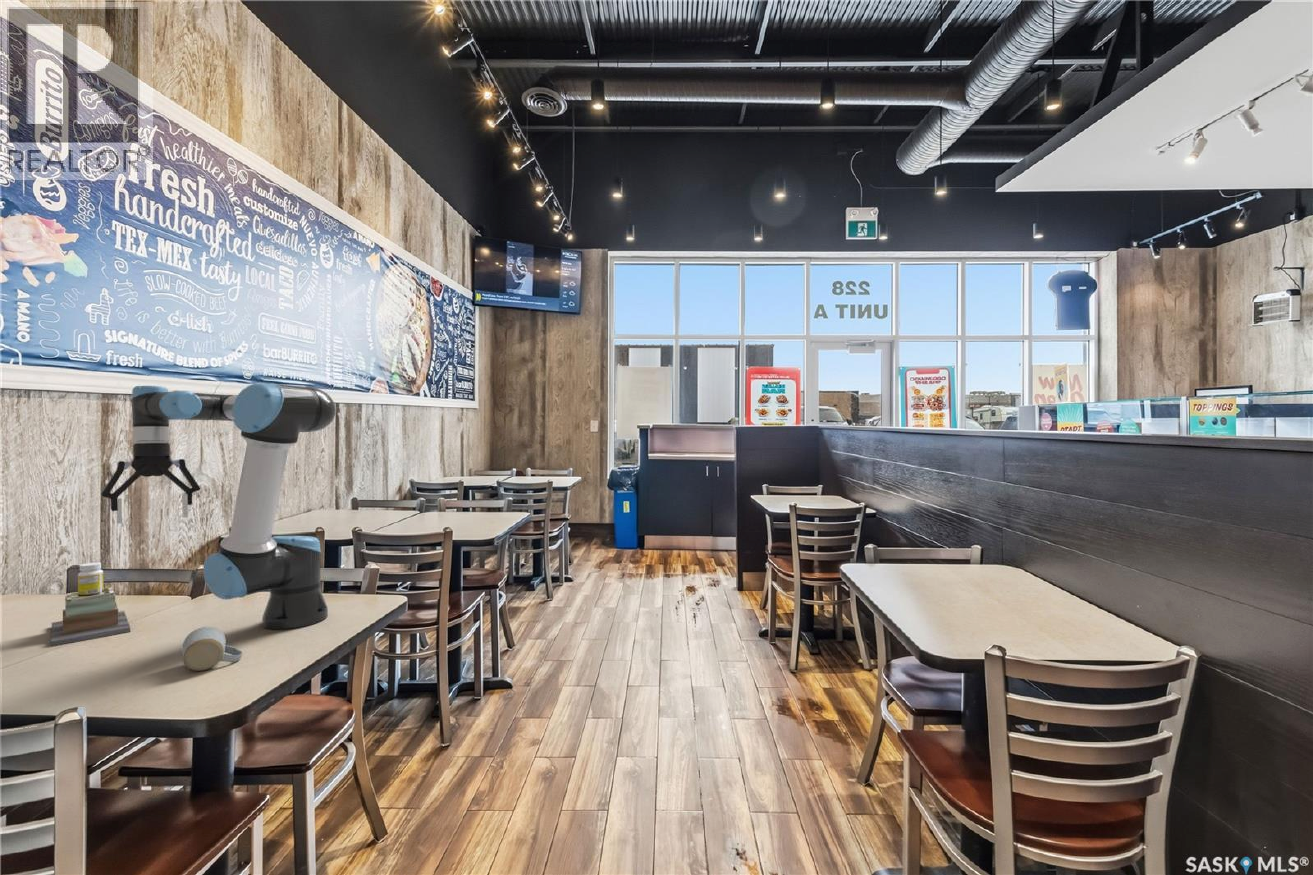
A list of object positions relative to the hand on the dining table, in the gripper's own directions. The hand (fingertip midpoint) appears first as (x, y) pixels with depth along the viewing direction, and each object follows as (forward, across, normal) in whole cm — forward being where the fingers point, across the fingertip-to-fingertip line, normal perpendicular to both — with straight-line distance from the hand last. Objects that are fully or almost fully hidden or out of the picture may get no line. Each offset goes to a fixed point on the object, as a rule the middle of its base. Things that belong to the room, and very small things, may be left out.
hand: (153, 520), depth 156 cm
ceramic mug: (+29, -3, +48) cm, 57 cm away
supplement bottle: (+19, +12, -3) cm, 23 cm away
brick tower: (+27, +12, -4) cm, 30 cm away
